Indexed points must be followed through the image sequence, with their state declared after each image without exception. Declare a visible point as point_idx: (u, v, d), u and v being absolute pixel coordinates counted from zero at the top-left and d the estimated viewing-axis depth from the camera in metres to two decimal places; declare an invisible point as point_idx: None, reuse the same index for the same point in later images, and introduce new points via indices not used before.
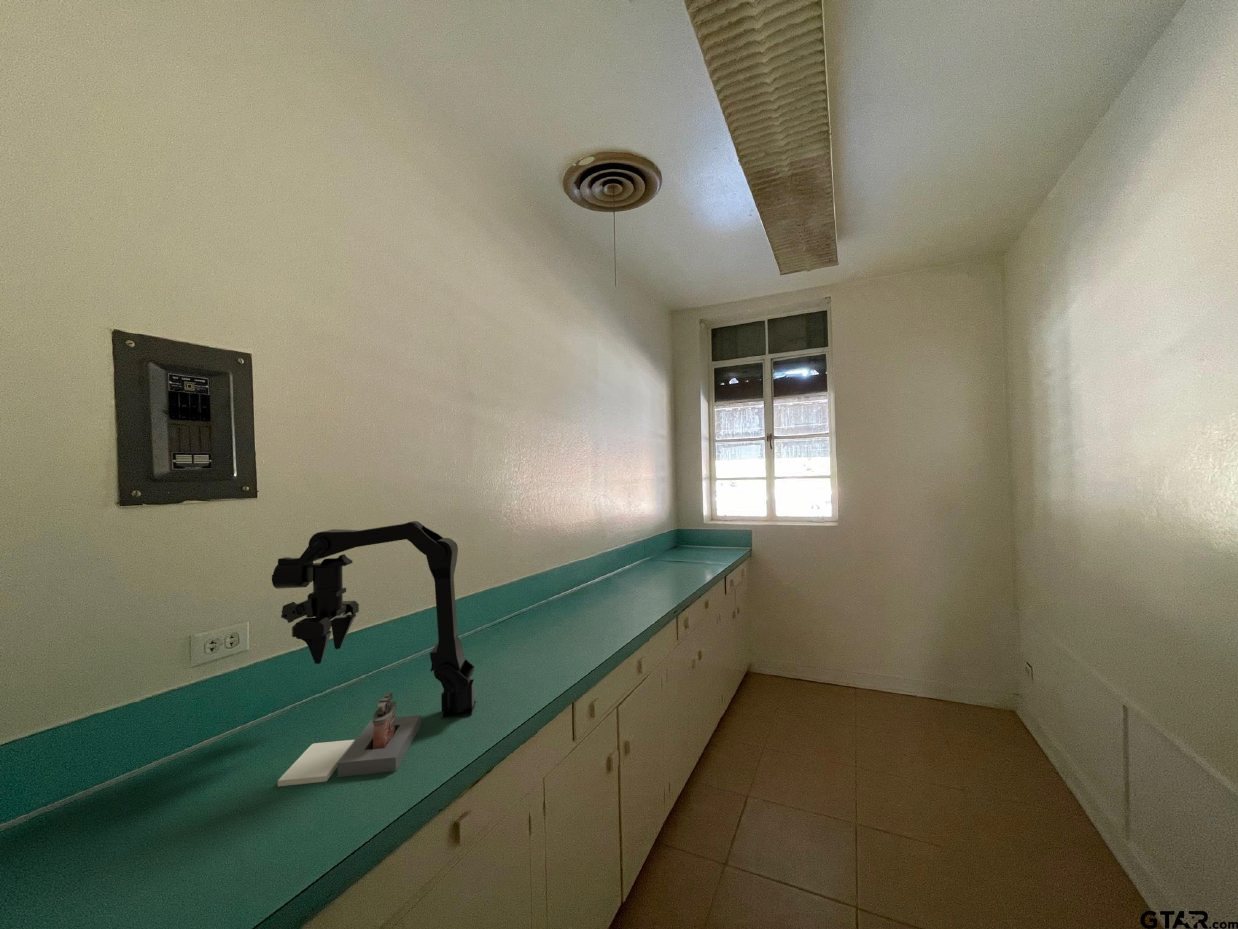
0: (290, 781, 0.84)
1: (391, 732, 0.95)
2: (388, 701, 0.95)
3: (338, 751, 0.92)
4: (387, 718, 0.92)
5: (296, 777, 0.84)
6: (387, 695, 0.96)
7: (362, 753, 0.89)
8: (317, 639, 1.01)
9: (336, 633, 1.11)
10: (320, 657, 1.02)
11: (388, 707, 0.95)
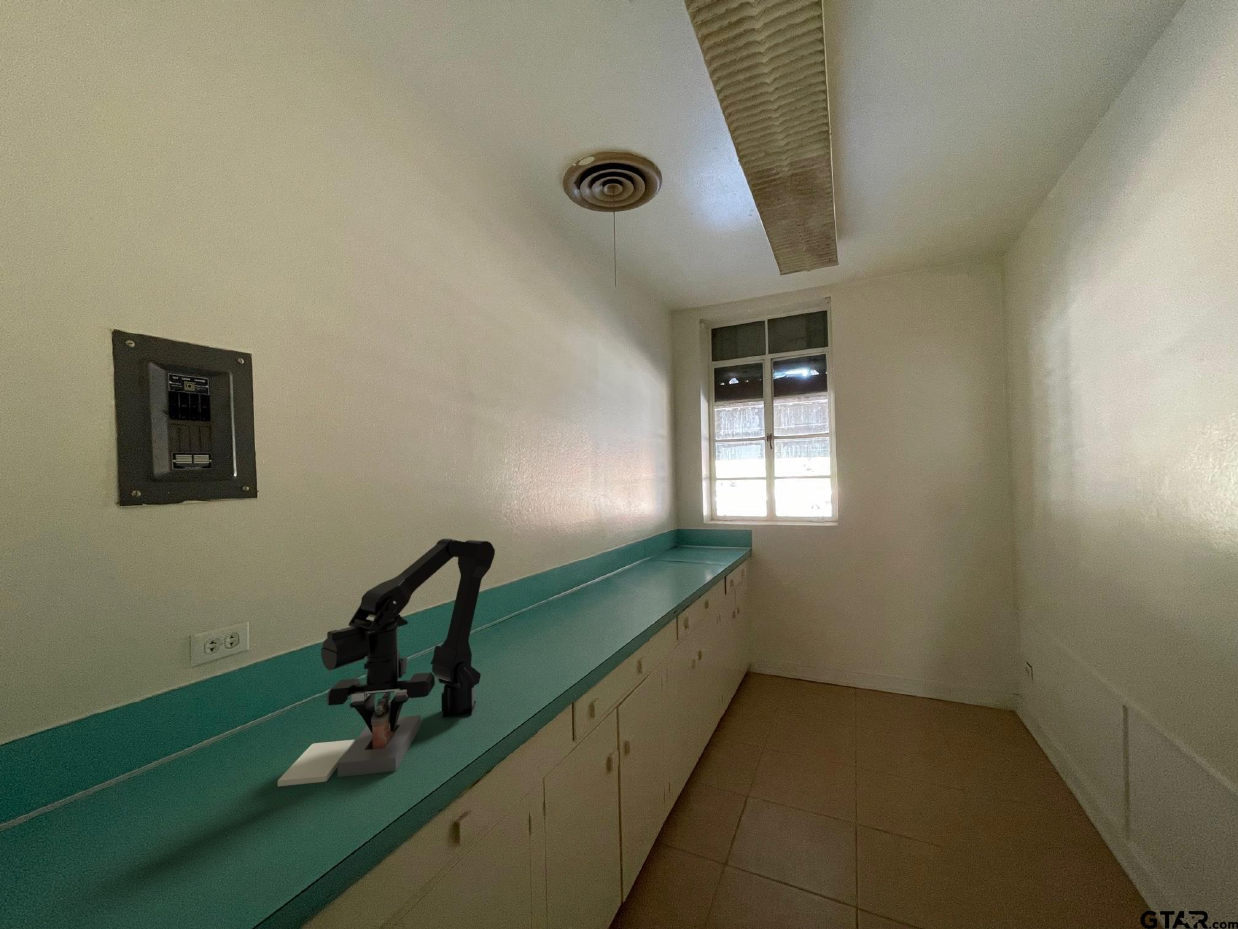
0: (290, 781, 0.84)
1: (390, 732, 0.94)
2: (386, 701, 0.95)
3: (338, 751, 0.92)
4: (386, 718, 0.92)
5: (296, 777, 0.84)
6: (385, 695, 0.96)
7: (362, 753, 0.89)
8: None
9: None
10: None
11: (386, 707, 0.95)
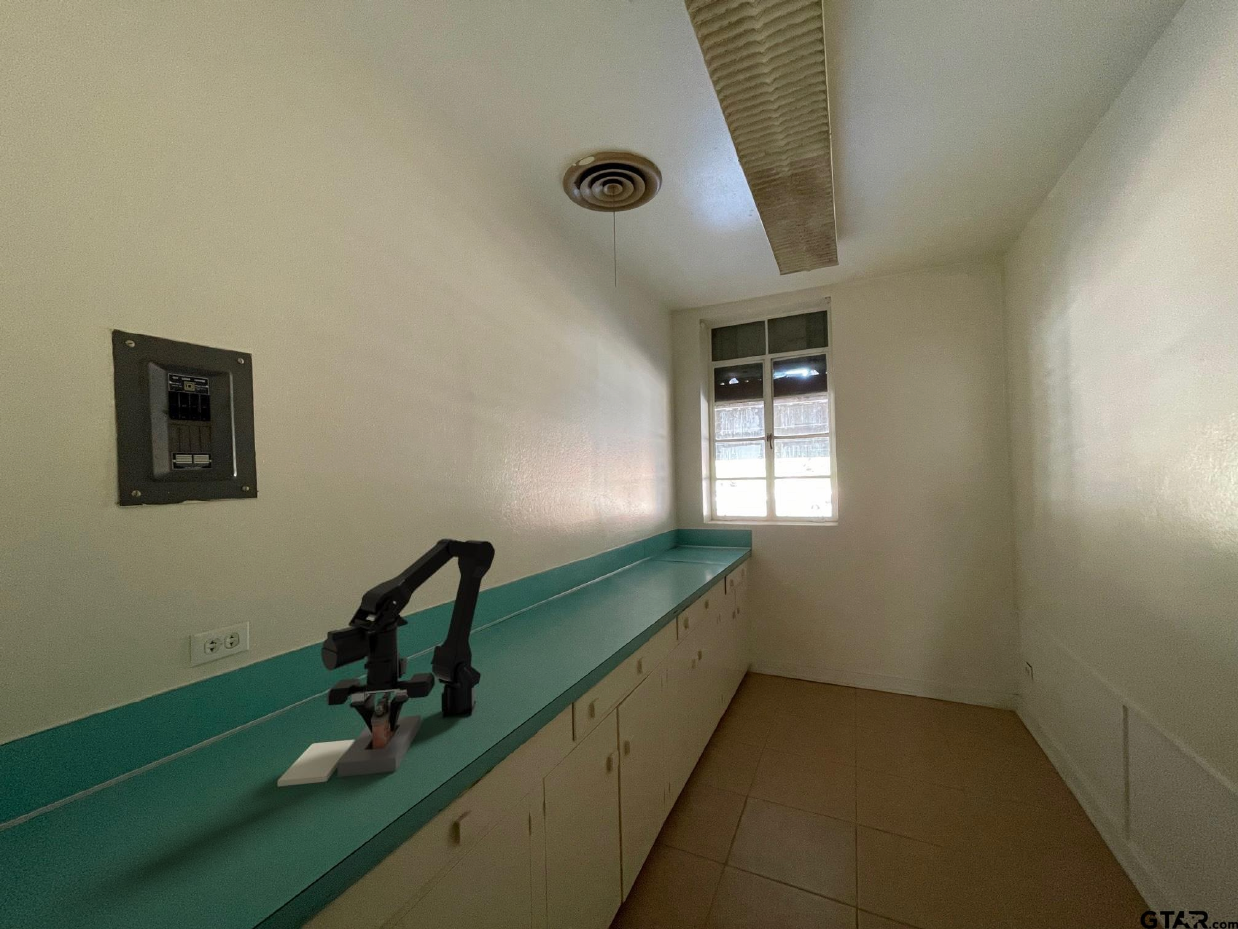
0: (290, 781, 0.84)
1: (390, 732, 0.94)
2: (386, 701, 0.95)
3: (338, 751, 0.92)
4: (386, 718, 0.92)
5: (296, 777, 0.84)
6: (385, 695, 0.96)
7: (362, 753, 0.89)
8: None
9: None
10: None
11: (386, 707, 0.95)
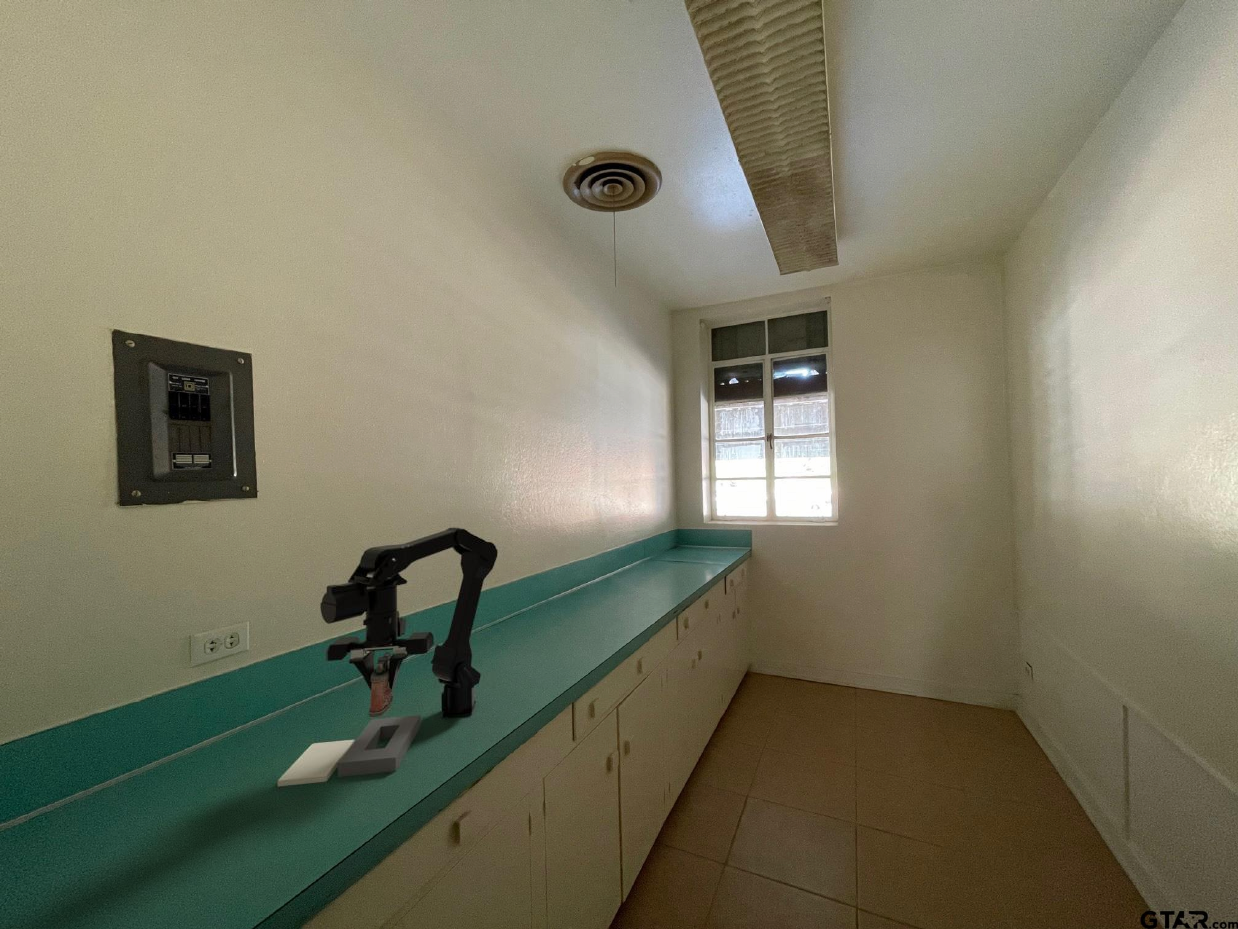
0: (290, 781, 0.84)
1: (389, 691, 0.95)
2: (387, 660, 0.95)
3: (338, 751, 0.92)
4: (385, 677, 0.93)
5: (296, 777, 0.84)
6: (386, 655, 0.97)
7: (362, 753, 0.89)
8: None
9: None
10: None
11: (386, 666, 0.95)
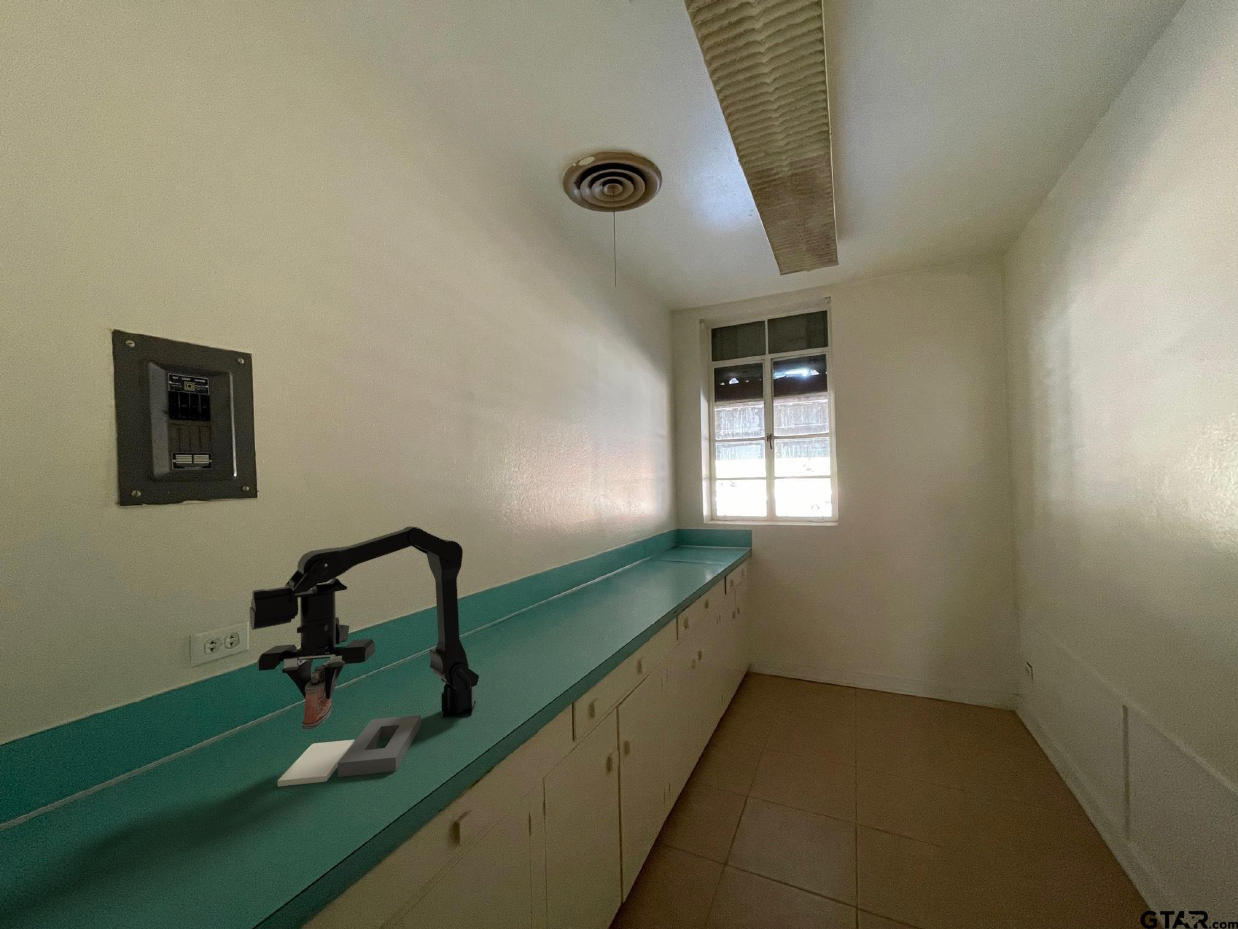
0: (290, 781, 0.84)
1: (325, 702, 0.90)
2: (324, 670, 0.91)
3: (338, 751, 0.92)
4: (321, 687, 0.88)
5: (296, 777, 0.84)
6: (324, 664, 0.92)
7: (362, 753, 0.89)
8: None
9: None
10: None
11: (324, 676, 0.91)
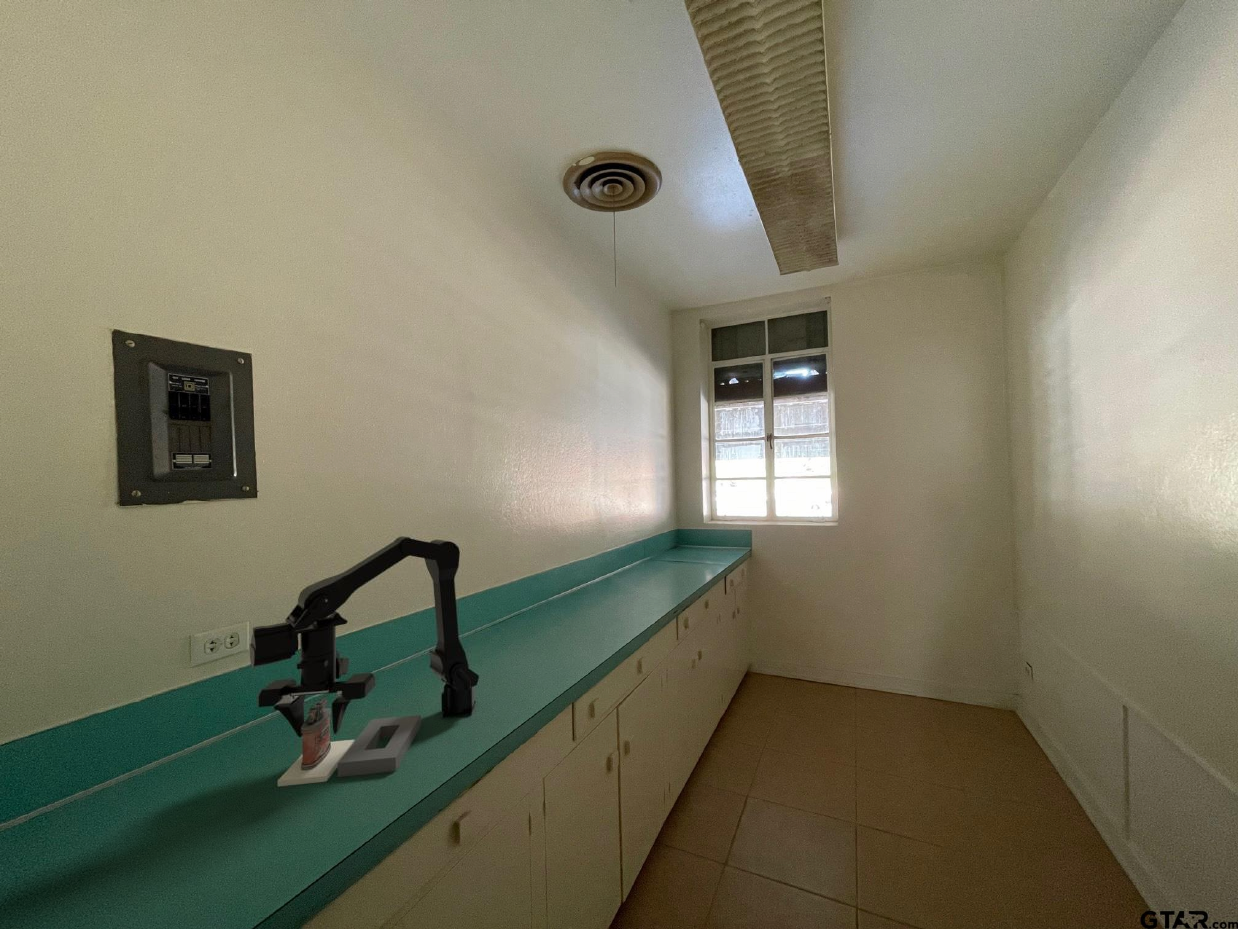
0: (290, 781, 0.84)
1: (323, 741, 0.90)
2: (320, 708, 0.90)
3: (338, 751, 0.92)
4: (317, 726, 0.88)
5: (296, 777, 0.84)
6: (320, 702, 0.92)
7: (362, 753, 0.89)
8: None
9: None
10: None
11: (320, 714, 0.90)
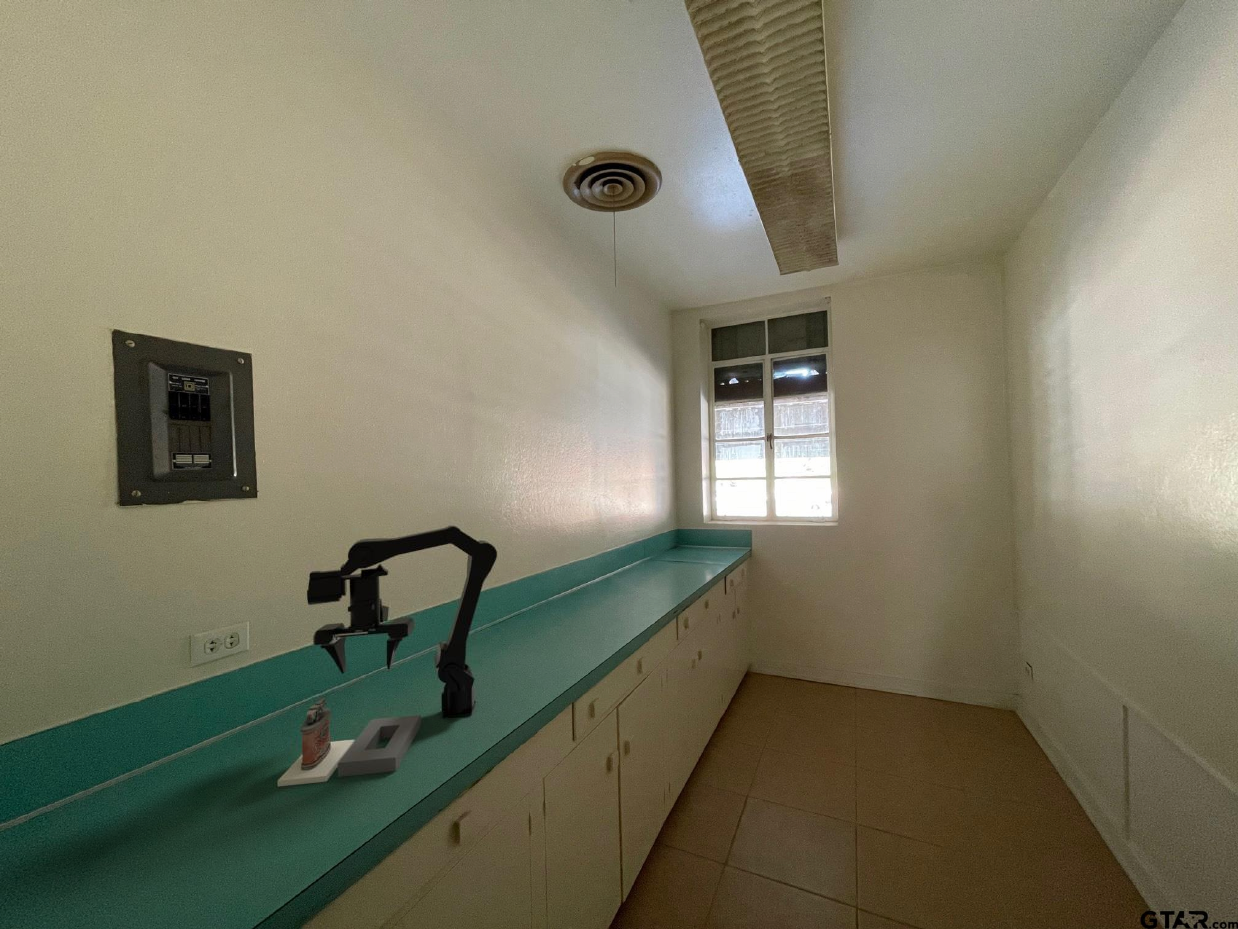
0: (290, 781, 0.84)
1: (323, 741, 0.90)
2: (319, 708, 0.90)
3: (338, 751, 0.92)
4: (317, 726, 0.88)
5: (296, 777, 0.84)
6: (319, 702, 0.92)
7: (362, 753, 0.89)
8: None
9: None
10: None
11: (319, 715, 0.90)
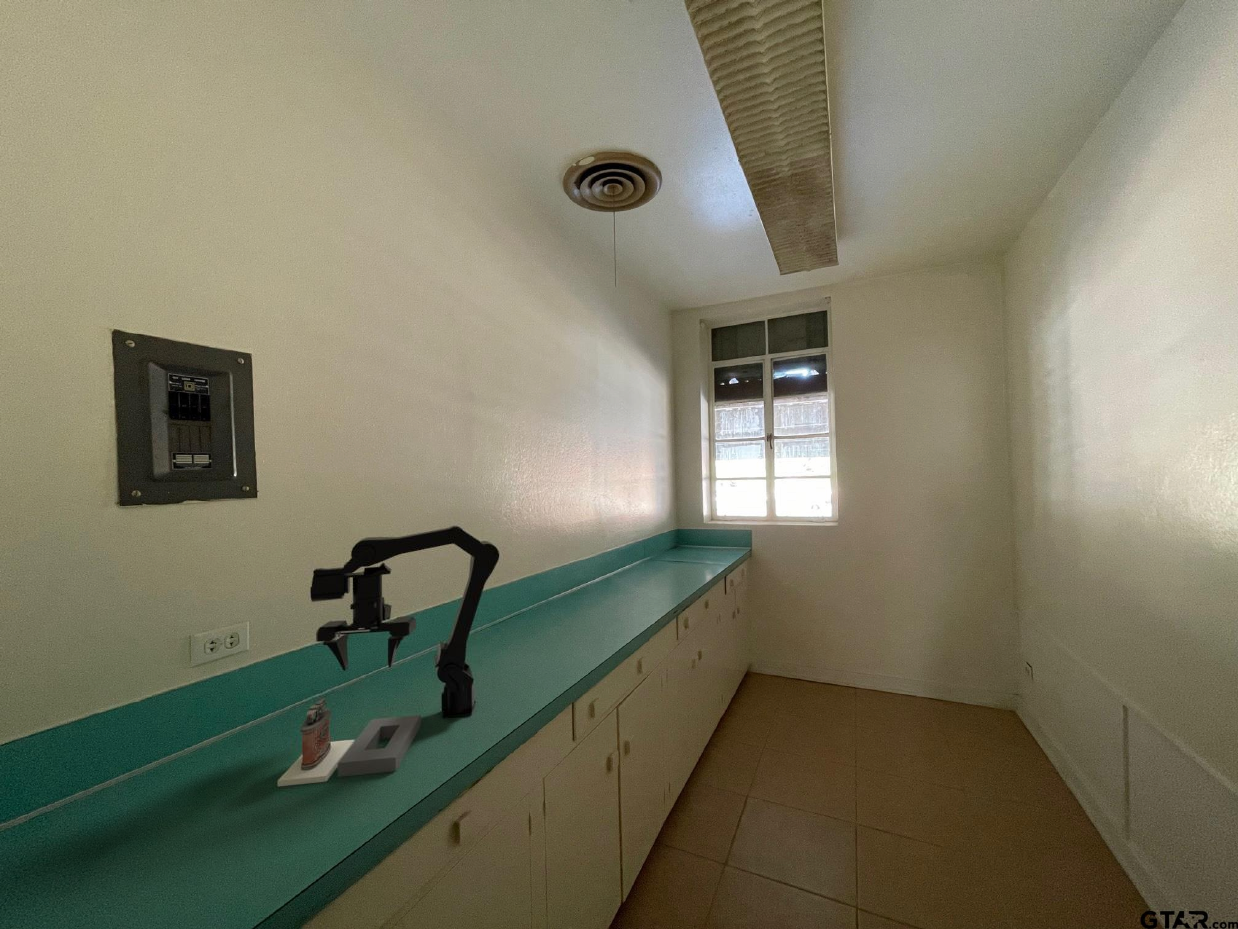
0: (290, 781, 0.84)
1: (323, 741, 0.90)
2: (319, 708, 0.90)
3: (338, 751, 0.92)
4: (317, 726, 0.88)
5: (296, 777, 0.84)
6: (319, 702, 0.92)
7: (362, 753, 0.89)
8: None
9: None
10: None
11: (319, 715, 0.90)
